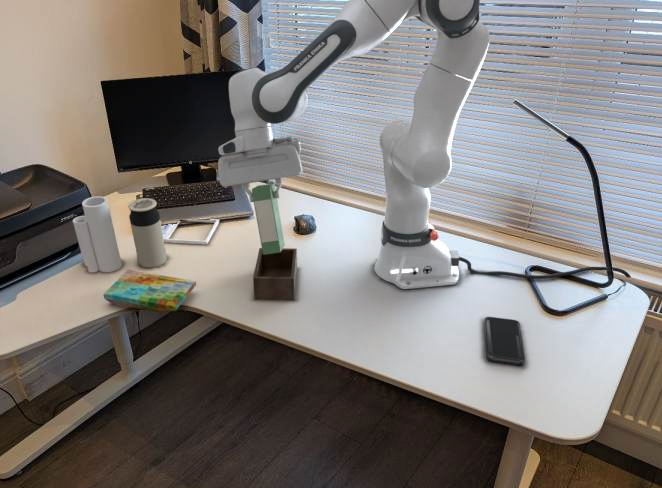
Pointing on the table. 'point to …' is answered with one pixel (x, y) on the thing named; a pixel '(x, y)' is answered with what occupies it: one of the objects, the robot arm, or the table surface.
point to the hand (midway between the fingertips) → (265, 199)
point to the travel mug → (147, 232)
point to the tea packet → (268, 219)
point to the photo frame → (168, 231)
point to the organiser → (275, 275)
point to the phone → (503, 341)
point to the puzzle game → (149, 291)
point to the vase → (97, 236)
